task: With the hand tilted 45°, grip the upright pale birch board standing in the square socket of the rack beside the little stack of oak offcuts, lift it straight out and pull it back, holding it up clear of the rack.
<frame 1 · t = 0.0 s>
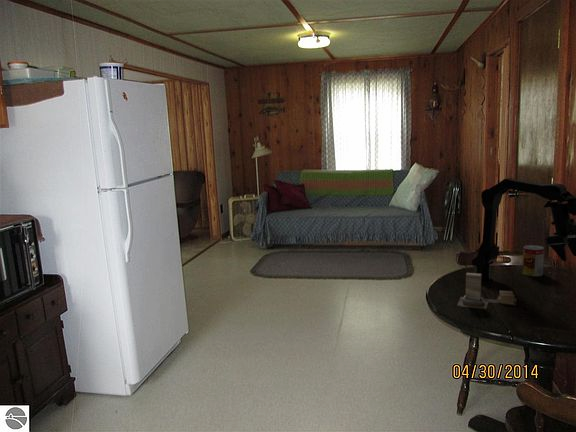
hand: (570, 258, 173), 15 cm above the table, tool pointing down, fingers open, 9 cm apart
canned food: (532, 274, 205), on the table
rack: (473, 304, 174), on the table
upper offcut: (506, 297, 174), point 2 cm above the table, touching lower offcut
lower offcut: (506, 300, 174), point 1 cm above the table, touching rack, upper offcut
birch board: (473, 302, 174), point 1 cm above the table, touching rack
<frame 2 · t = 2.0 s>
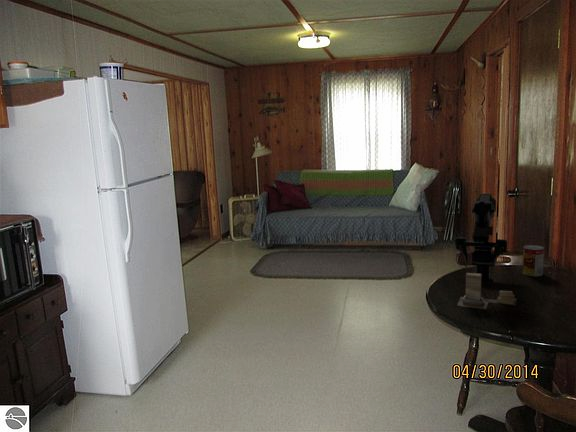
hand: (479, 264, 178), 14 cm above the table, tool tilted 45°, fingers open, 9 cm apart
nothing on the table moved.
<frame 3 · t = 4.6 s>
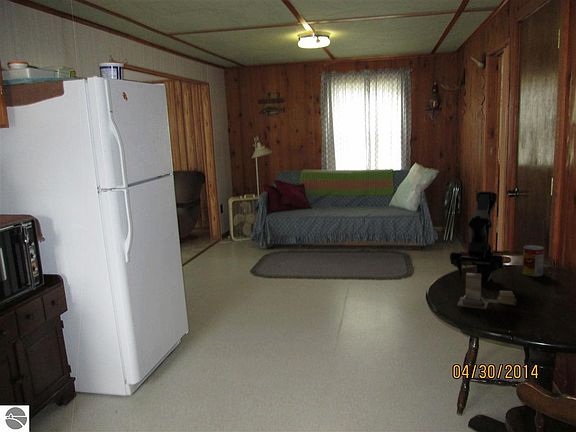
hand: (474, 279, 174), 9 cm above the table, tool tilted 45°, fingers open, 9 cm apart
nothing on the table moved.
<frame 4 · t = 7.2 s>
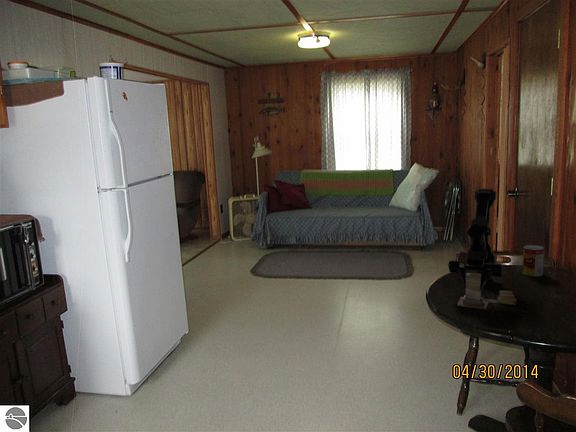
hand: (472, 288, 172), 7 cm above the table, tool tilted 45°, fingers closed on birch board, 5 cm apart
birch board: (473, 302, 174), point 1 cm above the table, touching gripper, rack
everything else where it was.
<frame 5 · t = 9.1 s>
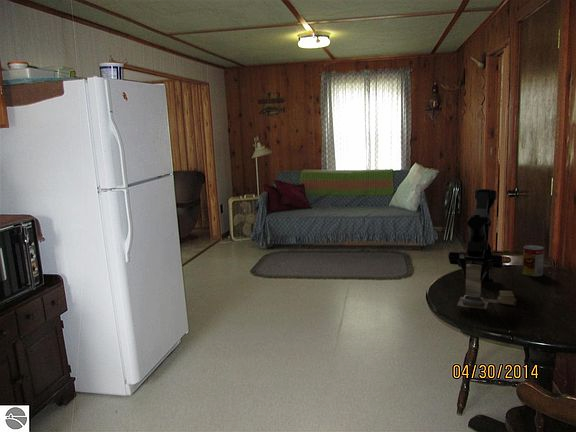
hand: (473, 279, 171), 10 cm above the table, tool tilted 45°, fingers closed on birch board, 5 cm apart
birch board: (473, 293, 173), point 4 cm above the table, touching gripper
everything else where it was.
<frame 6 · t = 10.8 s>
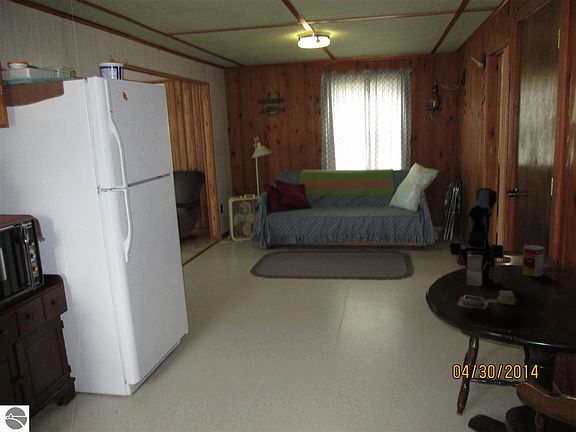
hand: (474, 269, 173), 13 cm above the table, tool tilted 45°, fingers closed on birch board, 5 cm apart
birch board: (474, 283, 175), point 7 cm above the table, touching gripper
everything else where it was.
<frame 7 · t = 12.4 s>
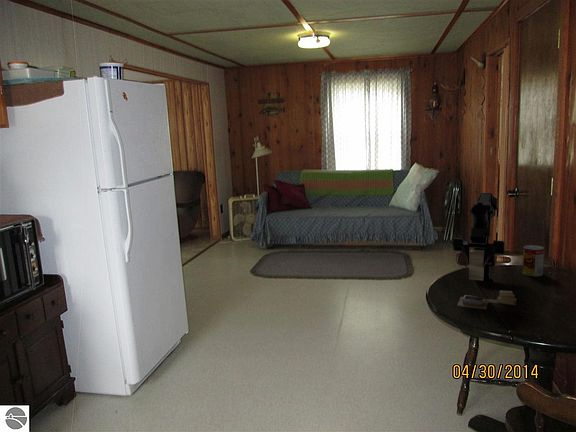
hand: (476, 264, 178), 14 cm above the table, tool tilted 45°, fingers closed on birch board, 5 cm apart
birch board: (476, 278, 180), point 8 cm above the table, touching gripper
everything else where it was.
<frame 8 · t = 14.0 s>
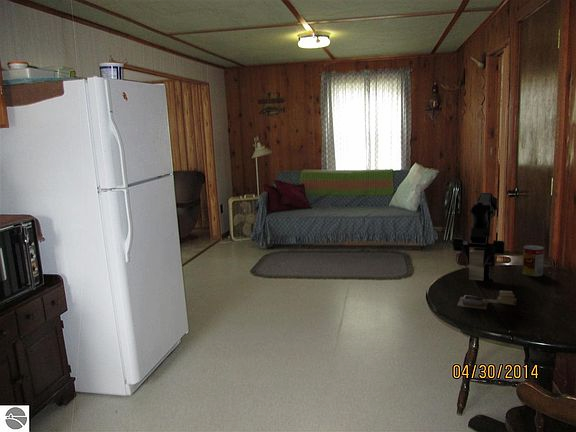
hand: (476, 264, 178), 14 cm above the table, tool tilted 45°, fingers closed on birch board, 5 cm apart
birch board: (476, 278, 180), point 8 cm above the table, touching gripper
everything else where it was.
at the end: the gripper is holding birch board; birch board point 7.6 cm above the table; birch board touching gripper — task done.
